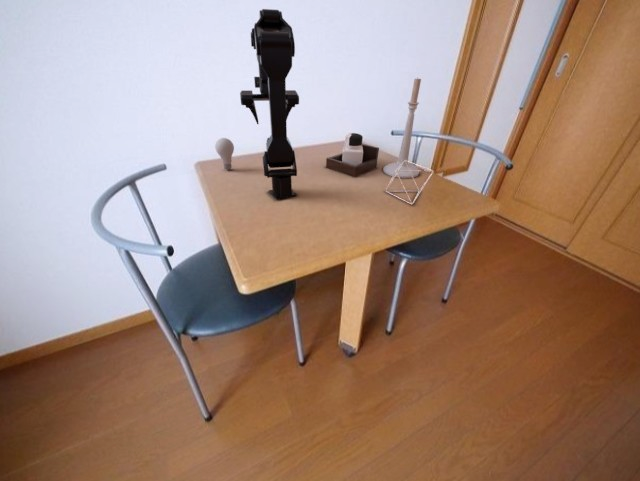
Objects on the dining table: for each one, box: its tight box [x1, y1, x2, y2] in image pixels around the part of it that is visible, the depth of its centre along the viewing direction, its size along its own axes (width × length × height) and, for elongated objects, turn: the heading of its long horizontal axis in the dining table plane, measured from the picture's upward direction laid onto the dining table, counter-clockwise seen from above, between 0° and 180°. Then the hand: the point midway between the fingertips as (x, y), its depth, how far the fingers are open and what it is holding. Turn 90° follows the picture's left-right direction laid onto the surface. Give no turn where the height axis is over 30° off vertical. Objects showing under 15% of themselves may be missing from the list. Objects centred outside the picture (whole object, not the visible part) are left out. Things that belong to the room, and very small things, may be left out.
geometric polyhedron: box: [385, 160, 435, 205], centre depth 84 cm, size 12×11×9 cm
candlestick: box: [382, 78, 422, 179], centre depth 96 cm, size 13×13×30 cm
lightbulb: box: [214, 137, 235, 171], centre depth 99 cm, size 6×6×11 cm
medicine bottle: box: [342, 132, 364, 165], centre depth 103 cm, size 7×7×12 cm
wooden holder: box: [325, 143, 380, 178], centre depth 105 cm, size 13×13×8 cm
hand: (271, 123), depth 100 cm, fingers open, 9 cm apart
